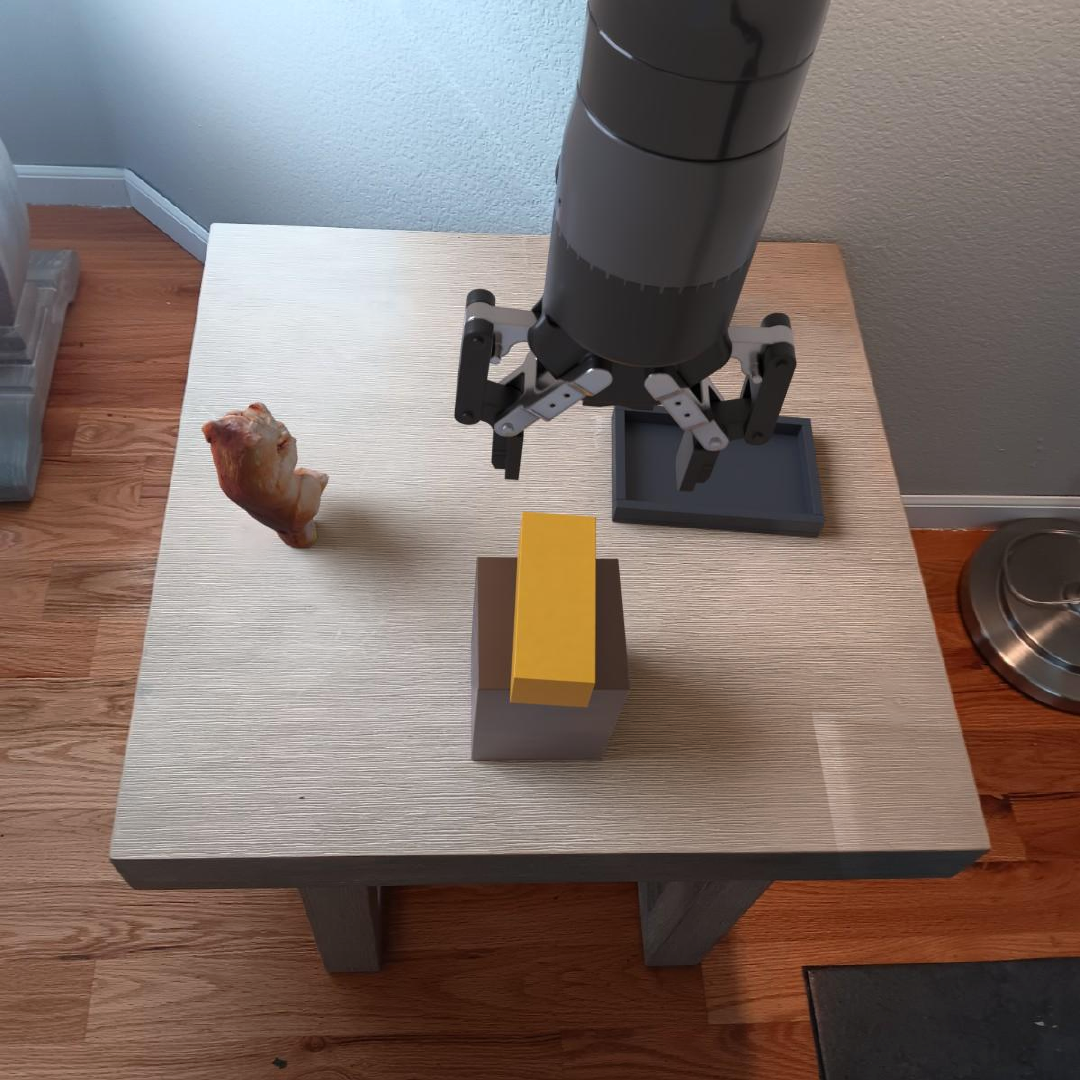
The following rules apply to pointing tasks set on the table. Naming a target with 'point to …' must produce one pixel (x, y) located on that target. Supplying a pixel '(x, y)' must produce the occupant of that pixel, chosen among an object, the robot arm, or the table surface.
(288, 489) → the figurine
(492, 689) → the stand
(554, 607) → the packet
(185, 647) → the table surface
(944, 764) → the table surface
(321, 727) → the table surface
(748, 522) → the tray
